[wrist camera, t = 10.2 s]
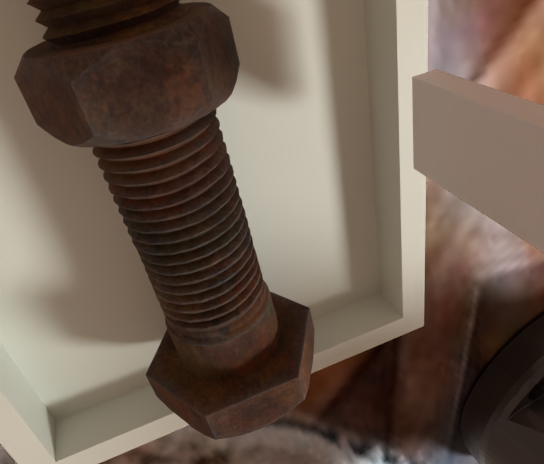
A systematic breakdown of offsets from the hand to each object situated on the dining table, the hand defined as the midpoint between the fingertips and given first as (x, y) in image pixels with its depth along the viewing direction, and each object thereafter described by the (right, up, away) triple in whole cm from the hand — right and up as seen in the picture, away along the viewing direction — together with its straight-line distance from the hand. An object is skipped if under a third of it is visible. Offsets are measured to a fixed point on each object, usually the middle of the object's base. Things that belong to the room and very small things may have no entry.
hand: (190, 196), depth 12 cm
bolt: (-1, +2, +3) cm, 3 cm away
